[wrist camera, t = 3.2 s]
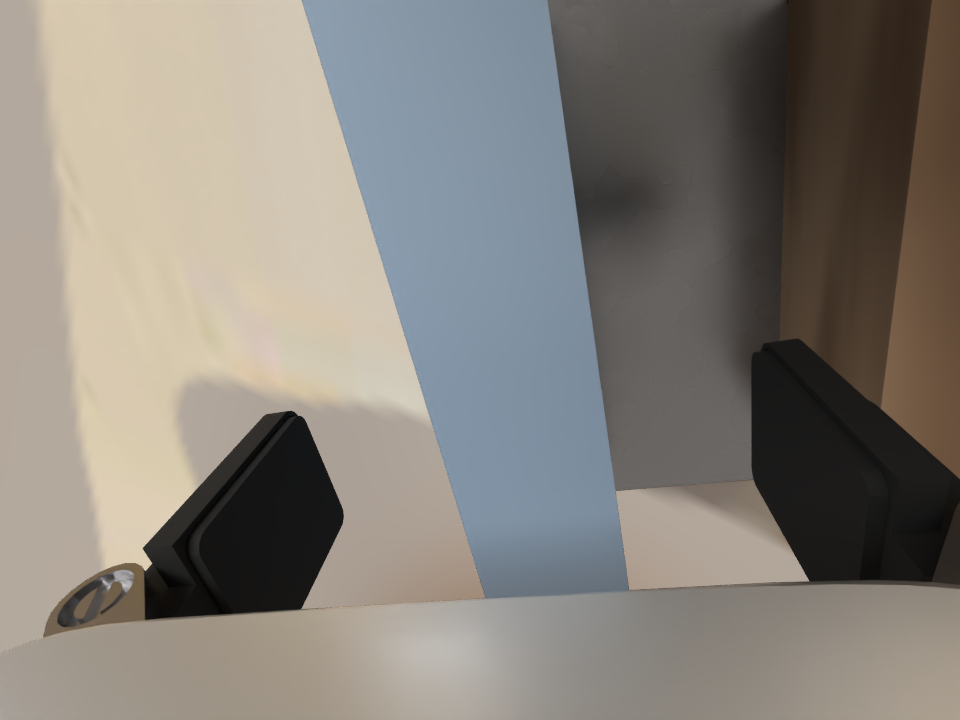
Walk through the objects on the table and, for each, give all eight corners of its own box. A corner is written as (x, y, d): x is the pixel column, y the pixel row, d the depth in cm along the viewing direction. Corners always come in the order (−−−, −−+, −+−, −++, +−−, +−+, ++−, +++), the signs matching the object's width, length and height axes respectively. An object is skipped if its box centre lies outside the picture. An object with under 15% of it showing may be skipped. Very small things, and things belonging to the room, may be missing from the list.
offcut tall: (967, -51, 13) (1266, -161, 7) (898, 423, 18) (1037, 554, 13) (788, -4, 13) (941, -73, 8) (776, 435, 19) (861, 562, 14)
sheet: (546, 18, 14) (526, -155, 5) (610, 472, 21) (657, 792, 11) (460, 43, 15) (280, -69, 5) (549, 477, 22) (543, 788, 12)
